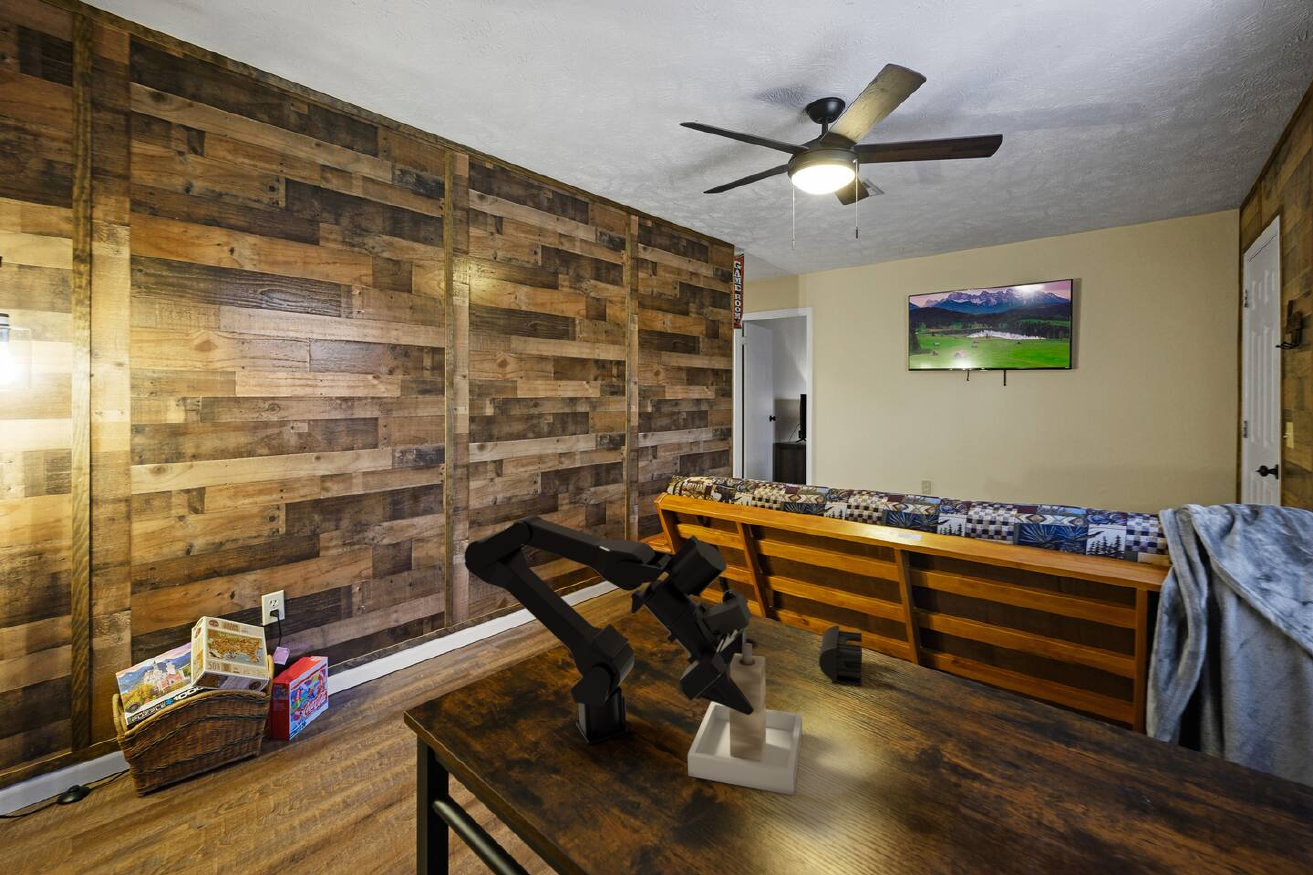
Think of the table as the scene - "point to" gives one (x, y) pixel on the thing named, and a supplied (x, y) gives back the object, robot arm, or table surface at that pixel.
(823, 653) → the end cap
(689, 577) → the robot arm
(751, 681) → the wooden square post
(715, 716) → the white square tray
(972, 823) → the table surface
